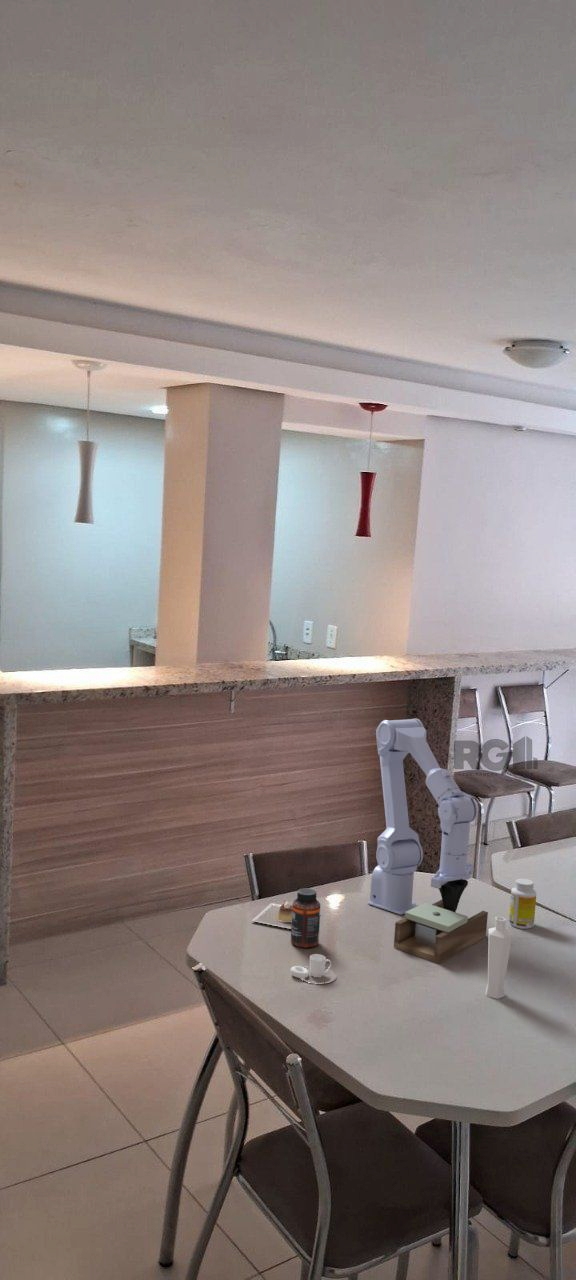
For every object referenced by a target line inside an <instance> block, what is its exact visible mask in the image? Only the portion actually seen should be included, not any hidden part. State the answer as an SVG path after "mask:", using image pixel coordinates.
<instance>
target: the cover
mask: <svg viewBox="0 0 576 1280" xmlns="http://www.w3.org/2000/svg"><path fill="white" fill-rule="evenodd" d="M404 918H406V919H409V920H412V921H415V922H418V923H421V924H424V925H427V926H430V927H433V928H436V929H439V930H442V931H445V932H450V931H452V930H454V929H456V928H458V927H460V926H461V925H463V924H465V923H467V920H468V916H467V915H465V914H462V913H458V912H457V911H456V912H453V911H450V910H446V909H443V908H440V907H437V906H434V905H432V904H431V903H427V902H423V903H422V904H419V906H417V907H415V908H413V909H411V910H408V911H406V912H405V913H404Z"/></svg>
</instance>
